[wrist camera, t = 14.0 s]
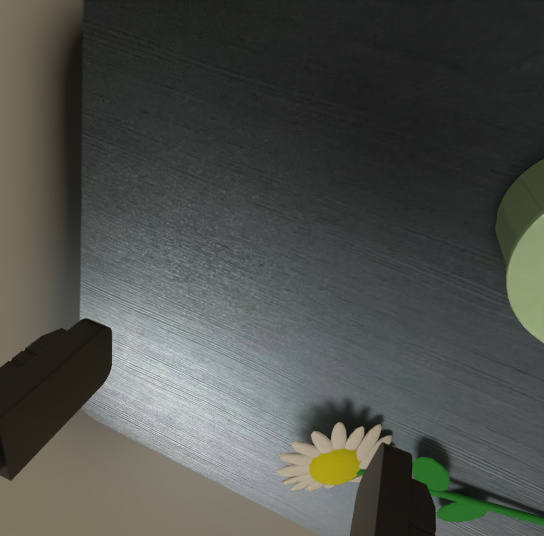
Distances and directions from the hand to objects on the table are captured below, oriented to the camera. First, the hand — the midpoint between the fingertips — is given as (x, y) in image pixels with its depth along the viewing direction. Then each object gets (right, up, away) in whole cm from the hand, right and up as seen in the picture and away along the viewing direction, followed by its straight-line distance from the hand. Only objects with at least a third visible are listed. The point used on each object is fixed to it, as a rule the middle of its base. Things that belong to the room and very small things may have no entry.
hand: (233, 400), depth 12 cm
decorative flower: (+17, -18, +34) cm, 42 cm away
